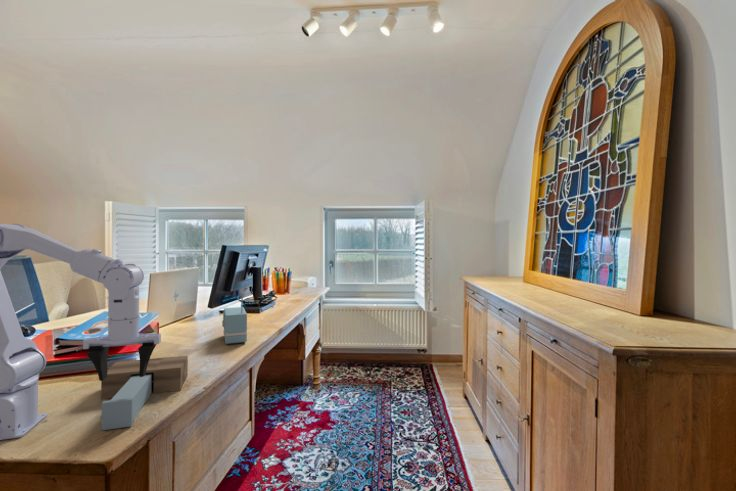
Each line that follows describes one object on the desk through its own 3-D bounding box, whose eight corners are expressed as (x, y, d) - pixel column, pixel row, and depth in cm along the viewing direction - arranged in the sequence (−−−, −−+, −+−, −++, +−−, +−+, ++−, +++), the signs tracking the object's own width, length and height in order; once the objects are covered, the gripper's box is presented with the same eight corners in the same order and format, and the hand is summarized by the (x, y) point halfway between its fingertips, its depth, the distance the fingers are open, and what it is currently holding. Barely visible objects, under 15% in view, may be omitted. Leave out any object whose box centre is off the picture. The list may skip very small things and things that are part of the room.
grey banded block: (221, 336, 145) (221, 289, 145) (243, 333, 149) (243, 288, 149) (222, 346, 131) (222, 295, 130) (246, 343, 134) (247, 293, 134)
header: (180, 390, 92) (180, 367, 92) (101, 399, 86) (101, 374, 86) (187, 376, 101) (187, 355, 101) (116, 383, 96) (116, 361, 96)
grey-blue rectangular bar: (131, 426, 73) (131, 399, 73) (101, 430, 72) (101, 403, 72) (153, 392, 90) (153, 371, 89) (129, 395, 88) (129, 373, 88)
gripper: (164, 312, 83) (164, 367, 83) (93, 315, 78) (93, 373, 79) (156, 318, 76) (155, 378, 76) (78, 322, 72) (77, 386, 72)
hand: (123, 377), depth 77 cm, fingers open, 7 cm apart
